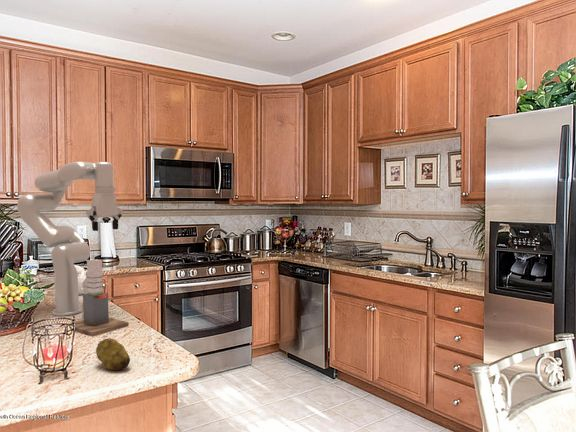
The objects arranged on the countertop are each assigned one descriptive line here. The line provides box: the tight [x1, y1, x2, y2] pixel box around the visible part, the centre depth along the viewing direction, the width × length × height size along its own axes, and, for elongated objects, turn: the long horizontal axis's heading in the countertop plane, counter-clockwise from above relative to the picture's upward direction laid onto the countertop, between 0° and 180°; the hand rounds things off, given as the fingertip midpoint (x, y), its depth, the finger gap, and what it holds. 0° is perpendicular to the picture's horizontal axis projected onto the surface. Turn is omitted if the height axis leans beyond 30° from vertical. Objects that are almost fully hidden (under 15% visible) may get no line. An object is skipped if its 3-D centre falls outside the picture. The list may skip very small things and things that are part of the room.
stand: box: [74, 292, 130, 337], centre depth 180 cm, size 20×16×14 cm
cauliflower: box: [74, 264, 87, 296], centre depth 243 cm, size 20×18×16 cm
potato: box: [95, 337, 131, 371], centre depth 138 cm, size 8×13×8 cm, turn 34°
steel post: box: [86, 258, 104, 296], centre depth 180 cm, size 4×4×20 cm
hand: (105, 230), depth 194 cm, fingers open, 9 cm apart
